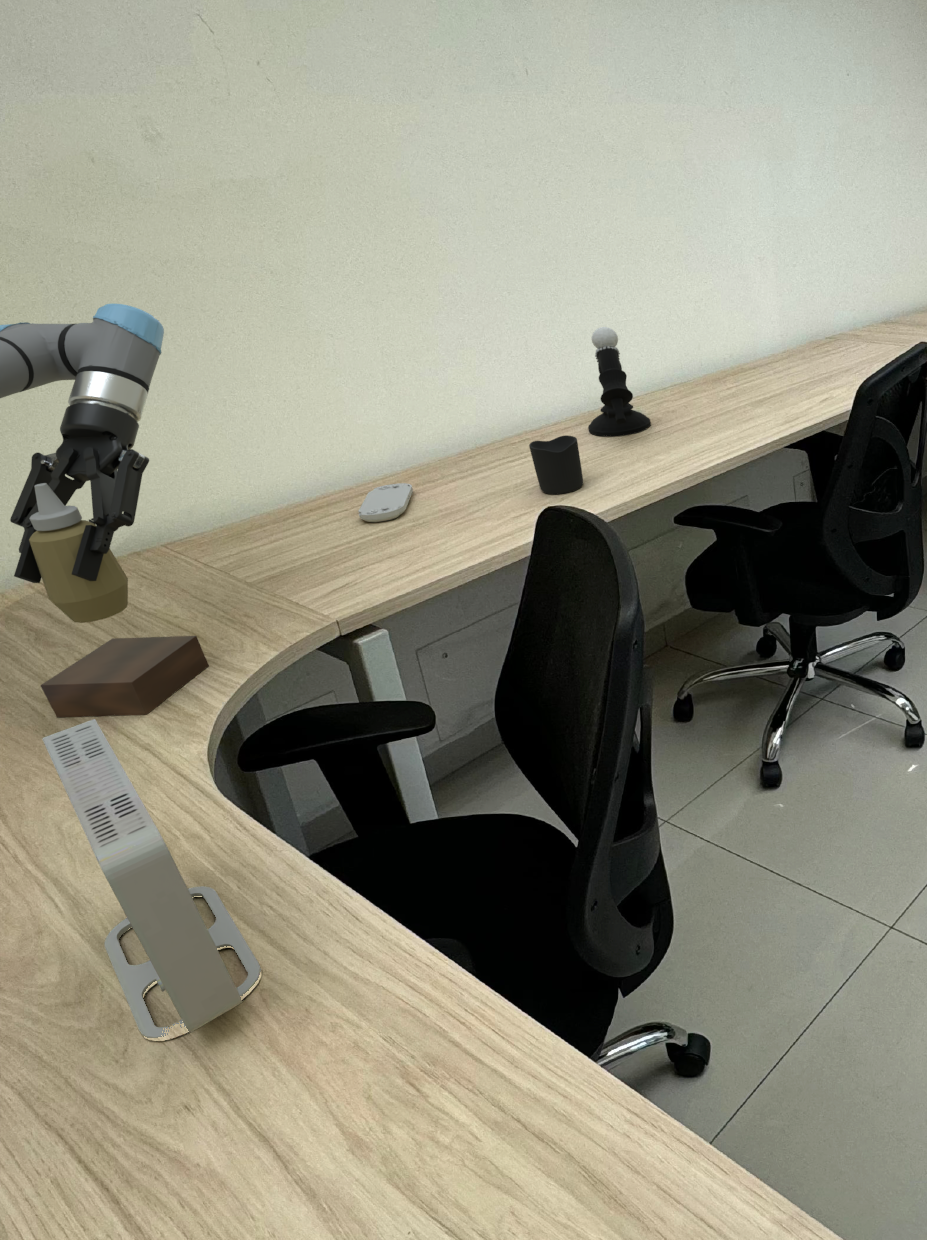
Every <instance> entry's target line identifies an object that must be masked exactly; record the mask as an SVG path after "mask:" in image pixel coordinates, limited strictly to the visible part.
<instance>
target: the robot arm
mask: <svg viewBox="0 0 927 1240" xmlns="http://www.w3.org/2000/svg"><path fill="white" fill-rule="evenodd" d="M164 334H165V328H164V326H163V324H162V323H161V322H160V321H159V319H157V318H155V317H154V316H153V315H152V314H151V313H149V312H147V311H145V310H143V309H140V308H138V307H135V306H132V305H129V304H123V303H105V304H104V305H102V306H100V307H98V308H97V310H96V312H95V314H94V315H93V316H92V322H79V323H33V322H32V323H30V322H20V321H19V322H17V323H9V324H0V399H4V398H6V397H8V396H9V397H10V396H12V395H15V394H18V393H22V392H25V391H28V390H32V389H35V388H39V387H42V386H45V385H48V384H52V383H54V382H61V381H74V382H73V385H72V388H71V391H70V394H69V397H68V401H67V403H68V405H67V407H66V408H65V411H64V414H63V417H62V419H61V424H60V427H59V432H60V434H61V437H62V442H61V444H60V445H59V446H58V447H57V448H56V450H55V452H53V453H49V454H46V455H45V454H43V453H41V452H35V453H33V454H32V456H31V463H30V464H31V465H30V471H29V473H28V476H27V478H26V481H25V483H24V485H23V486H22V487H23V488H22V490H21V493H20V495H19V497H18V499H17V502H16V505H15V507H14V509H13V511H12V514H11V516H10V519H9V521H10V523H11V524H14V525H17V526H19V527H22V528H23V534H22V537H21V540H20V544H19V546H18V553H19V554H20V555H19V559H18V562H17V565H16V568H15V571H14V574H13V577H14V578H18V579H21V580H23V581H27V582H30V583H31V584H41V580H42V577H41V574H40V571H39V568H38V565H37V562H36V559H35V556H34V553H33V550H32V547H31V544H30V541H29V539H30V537H31V536H32V534H33V533H34V532H36V531H37V530H35V529H34V527H33V525H32V523H31V521H30V519H29V518H30V517H31V515H33V514H35V513H37V512H39V511H38V505H37V499H36V493H35V487H34V486H35V485H37V484H41V483H47V485H48V486H49V487H50V488H51V489H52V491H53V492H54V493H55V494H56V496H57V497H58V498H59V499H60V501H61V502H62V503H63V504H64V506H67V504H68V503H69V502H70V500H71V498H72V497H73V495H74V494H75V493H76V491H77V490H81V489H82V488H83V487H84V485H85V484H86V482H88V481H89V483H90V492H91V494H90V496H91V505H92V518H90V519H88V521H89V522H91V523H93V524H95V525H96V527H95V526H93V525H86V526H85V529H84V533H83V536H82V540H81V543H80V547H79V550H78V553H77V557H76V560H75V564H74V567H73V571H72V575H75V576H78V577H80V578H83V579H86V580H89V581H96V580H97V576H98V572H99V569H100V565H101V562H102V558H103V555H104V554H107V552H108V551H109V548H110V549H111V544H112V541H113V537H114V534H115V532H116V531H118V530H119V528H122V527H124V526H125V527H131V526H133V525H134V523H135V518H136V514H137V508H138V502H139V495H140V490H141V485H142V479H143V475H144V472H145V470H146V469H147V467H148V465H149V462H150V458H149V457H148V456H146V455H144V454H142V453H140V452H138V451H136V450H135V449H133V448H134V446H135V442H136V438H137V437H138V432H139V429H140V424H139V422H140V421H141V419H142V416H143V412H144V409H145V405H146V402H147V399H148V394H149V391H150V386H151V384H152V383H151V382H152V380H153V376H154V373H155V370H156V367H157V365H158V361H159V359H160V356H161V355H162V345H163V341H164Z"/></svg>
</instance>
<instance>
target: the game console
mask: <svg viewBox="0 0 927 1240" xmlns="http://www.w3.org/2000/svg"><path fill="white" fill-rule="evenodd" d="M413 491H414V489H413V485H412V484H410V483H408V482H407V483H406V482H400V483H390V484H384V485H381V486H377V487H374V488H373V490H371V491H370V490H369V491H368V492H367V494H366V496H365V497H364V500H363V502H362V504H361V505H360V507H359V509H358V511H357V512H358V518H359V519H360V520H363V521H365V522H367V523H368V522H369V523H379V522H387V521H391V520H395V519H397V518H398V517H400V516H401V515H402V514H403V513H404V512H405V511H406V509H407V507H408V505H409V502H410V499H411V497H412V495H413Z"/></svg>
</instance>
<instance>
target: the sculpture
mask: <svg viewBox="0 0 927 1240" xmlns="http://www.w3.org/2000/svg"><path fill="white" fill-rule="evenodd" d="M618 342H619V337H618V334H617V332H616V331H615V330H614V329H613V328H610V327H607V326H601V327H598V328H596V329H595V330H594V331H593V332H592V334H591V343H592V344H593V347H595V348H596V349H595V353H594V357H595V359H596V362H597V366H598V373H599V376H598V382H599V383H600V385H601V387H602V393H601V396H600V402H601V404H603V406H602V407H601V408H600V412H601V413H600V414H598V415H597V416H596V417H595V418H593V420H591V422H590V423H589V424H588V426H587V428H588V433H589V434H590V435H592V436H596V437H621V436H629V435H633V434H636V433H640V432H643V431H645V430H648V428H650V427H651V426H652V423H651V419H650V417H648V416H646V415H645V414H644V413H642V412H640V411H637V410H635V409H633V408H634V405H632V404H631V401H632V400H633V398H634V395H633V393H632V391H631V390H630V389H628V386H627V378H628V377H627V373H626V371H624V370H623V367H622V364H621V361H620V360H621V359H620V355H621V353H620V350H619V349H618V347H617V345H618Z"/></svg>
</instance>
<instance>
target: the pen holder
mask: <svg viewBox="0 0 927 1240" xmlns="http://www.w3.org/2000/svg"><path fill="white" fill-rule="evenodd" d="M528 447H529V451H530V454H531V459H532V463H533V467H534V470H535V474H536V478H537V481H538V486H539V489H540V491H541V492H542V493H544V494H547V495H563V494H568V493H569V494H570V493H573V492H575V491H578V490H579V489H581V488H582V487H583V485H584V477H583V470H582V469H583V468H582V462H581V456H580V450H579V442H578V438H577V437H576V436H573V435H559V436H557V437H555V438H553V439H550V440H533V441H531V442H530V443H529V445H528Z"/></svg>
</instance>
